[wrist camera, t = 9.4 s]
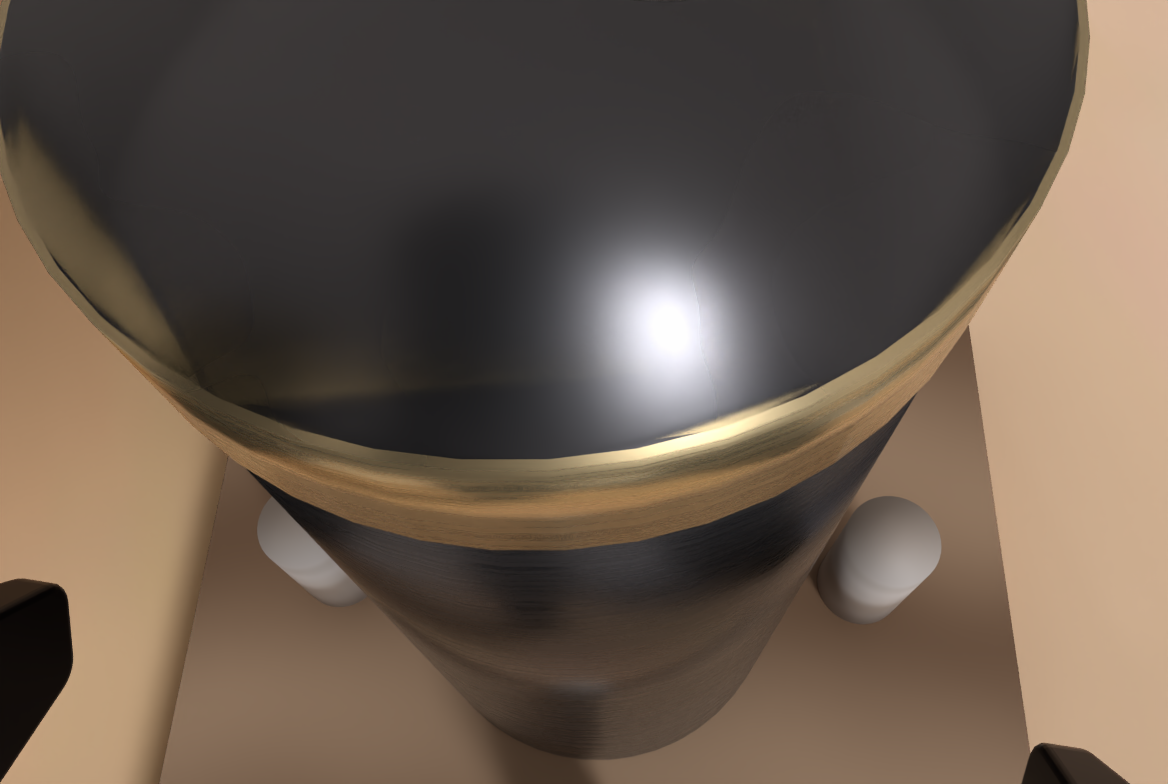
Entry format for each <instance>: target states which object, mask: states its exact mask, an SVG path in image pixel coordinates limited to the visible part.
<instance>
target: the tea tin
mask: <svg viewBox="0 0 1168 784" xmlns="http://www.w3.org/2000/svg"><path fill="white" fill-rule="evenodd" d="M1089 42H1090V33H1089V22H1088V12H1087V1H1086V0H2V3H1V5H0V173H1V176H2V179H3V182H4V184H5V187H6V190H7V193H8V195H9V198H10V201H11V204H12V206H13V209H14V212H15V215H16V217H17V220H18V222H19V224H20V225H21V227H22V229H23V230H24V232H25V234H26V235H27V237H28V239H29V241H30V242H31V244H32V246H33V247H34V249H35V251H36V252H37V254H38V256H39V257H40V259H41V261H42V262H43V264H44V266H45V268H46V269H47V271H48V273H49V274H50V275H51V276H52V277H53V279H54V280H55V281H56V282H57V283H58V284H59V286H60V287H61V288H62V289H63V290H64V291H65V293H66V294H67V295H68V296H69V297H70V298H71V299H72V301H73V302H74V303H75V304H76V305H77V306H78V308H79V309H80V310H81V311H82V312H83V313H84V315H85V316H86V317H87V318H88V319H89V320H90V321H91V323H92V324H93V325H94V326H95V327H96V328H97V329H98V330H99V331H100V332H101V333H102V334H103V335H104V336H105V337H106V338H107V339H108V340H109V341H110V342H111V343H112V344H113V345H114V346H115V347H116V348H117V349H118V350H119V351H120V352H121V353H122V354H123V355H124V356H125V357H126V358H127V359H128V360H129V361H130V362H131V363H132V365H133V366H134V367H135V368H136V369H137V370H138V371H139V372H140V373H141V374H142V375H143V376H144V377H145V378H146V379H147V380H148V381H149V382H150V383H151V384H152V385H153V386H154V387H155V388H156V389H157V390H158V391H159V392H160V393H161V394H162V395H163V396H164V397H165V398H166V399H167V400H168V401H169V402H170V403H171V404H172V405H173V406H174V407H175V408H176V409H177V410H178V411H179V412H180V413H181V414H182V416H183V417H184V418H185V419H186V420H187V421H188V422H189V423H190V424H191V425H192V426H194V427H195V428H196V429H197V430H198V431H200V432H201V433H202V434H203V435H204V436H206V437H207V438H208V439H209V440H210V441H212V442H213V443H214V444H215V445H216V446H218V447H219V448H220V449H221V450H222V451H224V452H225V453H226V454H227V455H228V456H230V457H231V458H232V459H233V460H234V461H236V462H237V463H238V464H240V465H241V466H243V467H245V468H246V469H247V471H248V472H249V473H250V474H251V475H252V476H253V477H254V478H255V479H256V480H257V481H258V482H259V483H260V484H261V485H262V486H263V487H264V488H265V489H266V490H267V492H268V493H269V494H270V495H271V496H272V497H273V498H274V499H275V500H276V501H277V502H278V503H279V504H280V505H281V506H282V507H283V508H284V509H285V510H286V511H287V513H288V514H289V515H290V516H291V517H292V518H293V519H294V520H295V521H296V522H297V523H298V524H299V525H300V526H301V527H302V528H303V529H304V530H305V531H306V532H307V533H308V535H309V536H310V537H311V538H312V539H313V540H314V541H315V542H316V543H317V544H318V545H319V546H320V547H321V548H322V549H323V550H324V551H325V552H326V553H327V554H328V556H329V557H330V558H331V559H332V560H333V561H334V562H335V563H336V564H337V565H338V566H339V567H340V568H341V569H342V570H343V571H344V572H345V573H346V574H347V575H348V577H349V578H350V579H351V580H352V581H353V582H354V583H355V584H356V585H357V586H358V587H359V588H360V589H361V590H362V591H363V592H364V593H365V594H366V595H367V596H368V597H369V599H370V600H371V601H372V602H373V603H374V604H375V605H376V606H377V607H378V608H379V609H380V610H381V611H382V612H383V613H384V614H385V615H386V616H387V617H388V618H389V620H390V621H391V622H392V623H393V624H394V625H395V626H396V627H397V628H398V629H399V630H400V631H401V632H402V633H403V634H404V635H405V636H406V637H407V638H408V639H409V641H410V642H411V643H412V644H413V645H414V646H415V647H416V648H417V649H418V650H419V651H420V652H421V653H422V654H423V655H424V656H425V657H426V658H427V659H428V660H429V662H430V663H431V664H432V665H433V666H434V667H435V668H436V669H437V670H438V671H439V672H440V673H441V674H442V675H443V676H444V677H445V678H446V679H447V680H448V681H449V682H450V684H451V685H452V686H453V687H454V688H455V689H456V690H457V691H458V692H459V693H460V694H461V695H462V696H463V697H464V698H465V699H466V700H467V701H468V702H469V703H470V705H471V706H472V707H473V708H474V709H475V710H476V711H477V712H478V713H480V714H481V715H482V716H483V717H484V718H485V719H487V720H488V721H489V722H490V723H491V724H492V725H494V726H495V727H496V728H498V729H500V730H501V731H503V732H504V733H506V734H507V735H509V736H510V737H512V738H514V739H515V740H518V741H520V742H522V743H524V744H526V745H528V746H531V747H533V748H535V749H538V750H541V751H544V752H548V753H551V754H554V755H558V756H562V757H569V758H575V759H582V760H612V759H620V758H628V757H634V756H637V755H641V754H645V753H648V752H652V751H656V750H658V749H660V748H663V747H665V746H667V745H670V744H672V743H674V742H677V741H679V740H680V739H682V738H684V737H685V736H687V735H689V734H690V733H692V732H694V731H695V730H697V729H698V728H700V727H701V726H702V725H703V724H705V723H706V722H707V721H708V720H710V719H711V718H712V717H713V716H715V715H716V714H717V713H718V712H719V711H720V710H721V709H722V708H723V707H724V705H725V704H726V703H727V702H728V701H729V700H730V699H731V698H732V697H733V696H734V694H735V693H736V691H737V690H738V689H739V687H740V686H741V684H742V683H743V681H744V680H745V679H746V677H747V676H748V674H749V672H750V671H751V669H752V667H753V666H754V664H755V662H756V661H757V659H758V657H759V656H760V654H761V652H762V651H763V649H764V647H765V646H766V644H767V642H768V641H769V639H770V637H771V636H772V634H773V632H774V631H775V629H776V627H777V626H778V624H779V622H780V621H781V619H782V617H783V616H784V614H785V612H786V611H787V609H788V607H789V606H790V604H791V602H792V601H793V599H794V597H795V596H796V594H797V592H798V591H799V589H800V587H801V586H802V584H803V582H804V581H805V579H806V577H807V576H808V574H809V572H810V571H811V569H812V567H813V566H814V564H815V562H816V561H817V559H818V557H819V556H820V554H821V552H822V551H823V549H824V547H825V546H826V544H827V542H828V541H829V539H830V537H831V536H832V534H833V532H834V531H835V529H836V527H837V526H838V524H839V522H840V521H841V519H842V517H843V516H844V514H845V512H846V511H847V509H848V507H849V506H850V504H851V502H852V501H853V499H854V497H855V496H856V494H857V492H858V491H859V489H860V487H861V486H862V484H863V482H864V481H865V479H866V477H867V476H868V474H869V472H870V471H871V469H872V467H873V466H874V464H875V462H876V461H877V459H878V457H879V456H880V454H881V452H882V451H883V449H884V447H885V446H886V444H887V442H888V441H889V439H890V437H891V436H892V434H893V432H894V431H895V429H896V427H897V426H898V424H899V422H900V421H901V419H902V417H903V416H904V414H905V412H906V411H907V409H908V407H909V406H910V404H911V402H912V401H913V399H914V397H915V396H916V394H917V392H918V391H919V390H920V389H921V388H922V387H923V386H924V385H925V384H926V383H927V382H928V381H929V380H930V379H931V377H932V376H933V374H934V373H935V372H936V370H937V369H938V367H939V366H940V365H941V363H942V362H943V360H944V359H945V358H946V356H947V355H948V353H949V352H950V351H951V349H952V348H953V346H954V345H955V344H956V342H957V341H958V339H959V338H960V337H961V335H962V334H963V332H964V331H965V330H966V328H967V326H968V325H969V323H970V321H971V320H972V318H973V317H974V315H975V313H976V312H977V310H978V309H979V307H980V305H981V304H982V302H983V300H984V299H985V297H986V296H987V294H988V292H989V291H990V289H991V288H992V286H993V284H994V283H995V281H996V279H997V278H998V276H999V275H1000V273H1001V271H1002V270H1003V268H1004V267H1005V265H1006V263H1007V262H1008V260H1009V258H1010V257H1011V255H1012V254H1013V252H1014V250H1015V249H1016V247H1017V246H1018V244H1019V242H1020V241H1021V239H1022V237H1023V236H1024V234H1025V233H1026V231H1027V229H1028V228H1029V226H1030V225H1031V223H1032V221H1033V220H1034V218H1035V216H1036V215H1037V213H1038V212H1039V210H1040V208H1041V206H1042V204H1043V202H1044V200H1045V198H1046V196H1047V194H1048V192H1049V190H1050V188H1051V186H1052V184H1053V182H1054V180H1055V178H1056V176H1057V174H1058V171H1059V169H1060V167H1061V165H1062V163H1063V161H1064V159H1065V157H1066V155H1067V153H1068V151H1069V147H1070V144H1071V140H1072V137H1073V133H1074V130H1075V126H1076V123H1077V119H1078V116H1079V112H1080V109H1081V105H1082V102H1083V98H1084V94H1085V85H1086V74H1087V63H1088V52H1089Z"/></svg>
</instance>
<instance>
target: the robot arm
mask: <svg viewBox="0 0 1168 784" xmlns="http://www.w3.org/2000/svg"><path fill="white" fill-rule="evenodd" d="M72 664H73V649H72V638H71V627H70V616H69V606H68V598H67V595H66V593H65V591H64V589H63V588H62V587H60V586H59V585H58V584H54V583H48V582H42V581H36V580H30V579H14V580H10V581H7V582H3V583H0V782H1V781H2V779H3V778H4V776H5V775H6V773H7V772H8V770H9V769H10V767H11V766H12V764H13V763H14V761H15V760H16V758H17V757H18V755H19V754H20V752H21V751H22V749H23V748H24V746H25V745H26V743H27V742H28V740H29V739H30V737H31V736H32V734H33V733H34V731H35V730H36V728H37V727H38V725H39V724H40V722H41V721H42V719H43V718H44V716H45V715H46V713H47V712H48V710H49V709H50V707H51V706H52V704H53V703H54V701H55V700H56V698H57V697H58V695H59V694H60V692H61V691H62V689H63V688H64V686H65V685H66V683H67V681H68V678H69V676H70V673H71V670H72ZM1021 784H1130V783H1128V782H1127V781H1126V780H1125V779H1123V778H1122V777H1121V776H1120V775H1118V774H1117V773H1116V772H1115V771H1113V770H1112V769H1111V768H1109V767H1108V766H1107V765H1106V764H1104V763H1103V762H1102V761H1101V760H1099V759H1098V758H1097V757H1096V756H1094V755H1093V754H1092V753H1090V752H1089V751H1087V750H1084V749H1081V748H1074V747H1068V746H1061V745H1055V744H1049V743H1041V744H1039V745H1037V746H1035V747H1034V749H1033V750H1032V752H1031V753H1030V756H1029V758H1028V762H1027V765H1026V769H1025V772H1024V776H1023V779H1022V783H1021Z"/></svg>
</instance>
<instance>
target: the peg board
mask: <svg viewBox="0 0 1168 784" xmlns="http://www.w3.org/2000/svg"><path fill="white" fill-rule="evenodd" d="M1029 756H1030V748H1029V741H1028V734H1027V727H1026V720H1025V713H1024V707H1023V700H1022V693H1021V686H1020V679H1019V672H1018V665H1017V658H1016V651H1015V644H1014V637H1013V630H1012V623H1011V616H1010V609H1009V602H1008V595H1007V589H1006V582H1005V575H1004V568H1003V561H1002V554H1001V547H1000V540H999V533H998V526H997V519H996V512H995V505H994V498H993V491H992V484H991V477H990V471H989V464H988V457H987V450H986V443H985V436H984V429H983V422H982V415H981V408H980V401H979V394H978V387H977V380H976V373H975V366H974V360H973V353H972V346H971V339H970V332H969V325H968V326H967V328H966V330H965V331H964V332H963V334H962V335H961V337H960V338H959V339H958V341H957V342H956V344H955V345H954V346H953V348H952V349H951V351H950V352H949V353H948V355H947V356H946V358H945V359H944V360H943V362H942V363H941V365H940V366H939V367H938V369H937V370H936V372H935V373H934V374H933V376H932V377H931V379H930V380H929V381H928V382H927V383H926V384H925V385H924V386H923V387H922V388H921V389H920V390H919V391H918V392H917V394H916V396H915V397H914V399H913V401H912V402H911V404H910V406H909V407H908V409H907V411H906V412H905V414H904V416H903V417H902V419H901V421H900V422H899V424H898V426H897V427H896V429H895V431H894V432H893V434H892V436H891V437H890V439H889V441H888V442H887V444H886V446H885V447H884V449H883V451H882V452H881V454H880V456H879V457H878V459H877V461H876V462H875V464H874V466H873V467H872V469H871V471H870V472H869V474H868V476H867V477H866V479H865V481H864V482H863V484H862V486H861V487H860V489H859V491H858V492H857V494H856V496H855V497H854V499H853V501H852V502H851V504H850V506H849V507H848V509H847V511H846V512H845V514H844V516H843V517H842V519H841V521H840V522H839V524H838V526H837V527H836V529H835V531H834V532H833V534H832V536H831V537H830V539H829V541H828V542H827V544H826V546H825V547H824V549H823V551H822V552H821V554H820V556H819V557H818V559H817V561H816V562H815V564H814V566H813V567H812V569H811V571H810V572H809V574H808V576H807V577H806V579H805V581H804V582H803V584H802V586H801V587H800V589H799V591H798V592H797V594H796V596H795V597H794V599H793V601H792V602H791V604H790V606H789V607H788V609H787V611H786V612H785V614H784V616H783V617H782V619H781V621H780V622H779V624H778V626H777V627H776V629H775V631H774V632H773V634H772V636H771V637H770V639H769V641H768V642H767V644H766V646H765V647H764V649H763V651H762V652H761V654H760V656H759V657H758V659H757V661H756V662H755V664H754V666H753V667H752V669H751V671H750V672H749V674H748V676H747V677H746V679H745V680H744V681H743V683H742V684H741V686H740V687H739V689H738V690H737V691H736V693H735V694H734V696H733V697H732V698H731V699H730V700H729V701H728V702H727V703H726V704H725V705H724V707H723V708H722V709H721V710H720V711H719V712H718V713H717V714H716V715H715V716H713V717H712V718H711V719H710V720H708V721H707V722H706V723H705V724H703V725H702V726H701V727H700V728H698V729H697V730H695V731H694V732H692V733H690V734H689V735H687V736H685V737H684V738H682V739H680V740H679V741H677V742H674V743H672V744H670V745H667V746H665V747H663V748H660V749H658V750H656V751H652V752H648V753H645V754H641V755H637V756H634V757H628V758H620V759H612V760H582V759H575V758H569V757H562V756H558V755H554V754H551V753H548V752H544V751H541V750H538V749H535V748H533V747H531V746H528V745H526V744H524V743H522V742H520V741H518V740H515V739H514V738H512V737H510V736H509V735H507V734H506V733H504V732H503V731H501V730H500V729H498V728H496V727H495V726H494V725H492V724H491V723H490V722H489V721H488V720H487V719H485V718H484V717H483V716H482V715H481V714H480V713H478V712H477V711H476V710H475V709H474V708H473V707H472V706H471V705H470V703H469V702H468V701H467V700H466V699H465V698H464V697H463V696H462V695H461V694H460V693H459V692H458V691H457V690H456V689H455V688H454V687H453V686H452V685H451V684H450V682H449V681H448V680H447V679H446V678H445V677H444V676H443V675H442V674H441V673H440V672H439V671H438V670H437V669H436V668H435V667H434V666H433V665H432V664H431V663H430V662H429V660H428V659H427V658H426V657H425V656H424V655H423V654H422V653H421V652H420V651H419V650H418V649H417V648H416V647H415V646H414V645H413V644H412V643H411V642H410V641H409V639H408V638H407V637H406V636H405V635H404V634H403V633H402V632H401V631H400V630H399V629H398V628H397V627H396V626H395V625H394V624H393V623H392V622H391V621H390V620H389V618H388V617H387V616H386V615H385V614H384V613H383V612H382V611H381V610H380V609H379V608H378V607H377V606H376V605H375V604H374V603H373V602H372V601H371V600H370V599H369V597H368V596H367V595H366V594H365V593H364V592H363V591H362V590H361V589H360V588H359V587H358V586H357V585H356V584H355V583H354V582H353V581H352V580H351V579H350V578H349V577H348V575H347V574H346V573H345V572H344V571H343V570H342V569H341V568H340V567H339V566H338V565H337V564H336V563H335V562H334V561H333V560H332V559H331V558H330V557H329V556H328V554H327V553H326V552H325V551H324V550H323V549H322V548H321V547H320V546H319V545H318V544H317V543H316V542H315V541H314V540H313V539H312V538H311V537H310V536H309V535H308V533H307V532H306V531H305V530H304V529H303V528H302V527H301V526H300V525H299V524H298V523H297V522H296V521H295V520H294V519H293V518H292V517H291V516H290V515H289V514H288V513H287V511H286V510H285V509H284V508H283V507H282V506H281V505H280V504H279V503H278V502H277V501H276V500H275V499H274V498H273V497H272V496H271V495H270V494H269V493H268V492H267V490H266V489H265V488H264V487H263V486H262V485H261V484H260V483H259V482H258V481H257V480H256V479H255V478H254V477H253V476H252V475H251V474H250V473H249V472H248V471H247V469H246V468H245V467H243V466H241V465H240V464H238V463H237V462H236V461H234V460H233V459H232V458H231V457H230V456H228V460H227V465H226V469H225V474H224V479H223V484H222V488H221V493H220V498H219V503H218V507H217V512H216V517H215V522H214V526H213V531H212V536H211V541H210V545H209V550H208V555H207V559H206V564H205V569H204V574H203V578H202V583H201V588H200V593H199V597H198V602H197V607H196V612H195V616H194V621H193V626H192V631H191V635H190V640H189V645H188V649H187V654H186V659H185V664H184V668H183V673H182V678H181V683H180V687H179V692H178V697H177V702H176V706H175V711H174V716H173V720H172V725H171V730H170V735H169V739H168V744H167V749H166V754H165V758H164V763H163V768H162V773H161V777H160V782H159V784H1021V783H1022V779H1023V776H1024V772H1025V769H1026V765H1027V762H1028V758H1029Z"/></svg>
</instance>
